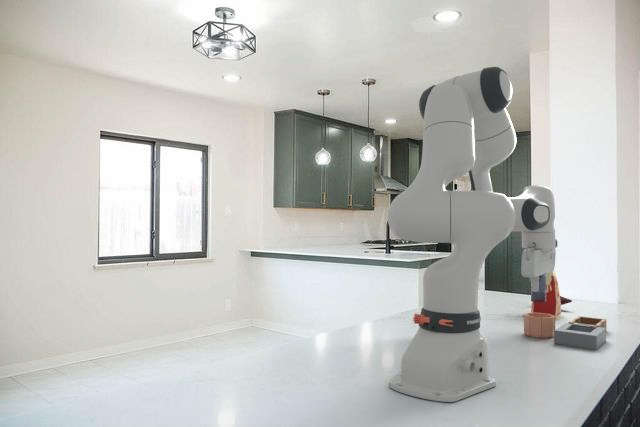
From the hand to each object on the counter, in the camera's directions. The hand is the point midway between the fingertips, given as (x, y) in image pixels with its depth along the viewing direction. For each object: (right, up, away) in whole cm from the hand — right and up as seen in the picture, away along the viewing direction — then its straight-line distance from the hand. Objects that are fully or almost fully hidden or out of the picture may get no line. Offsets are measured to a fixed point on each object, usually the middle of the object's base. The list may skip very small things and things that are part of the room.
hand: (538, 290), depth 141 cm
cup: (0, -13, 0) cm, 13 cm away
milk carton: (+15, -13, +28) cm, 34 cm away
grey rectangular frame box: (+7, -13, -9) cm, 17 cm away
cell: (0, -3, 0) cm, 3 cm away
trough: (+15, -13, +2) cm, 20 cm away
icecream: (+23, -14, +41) cm, 49 cm away
